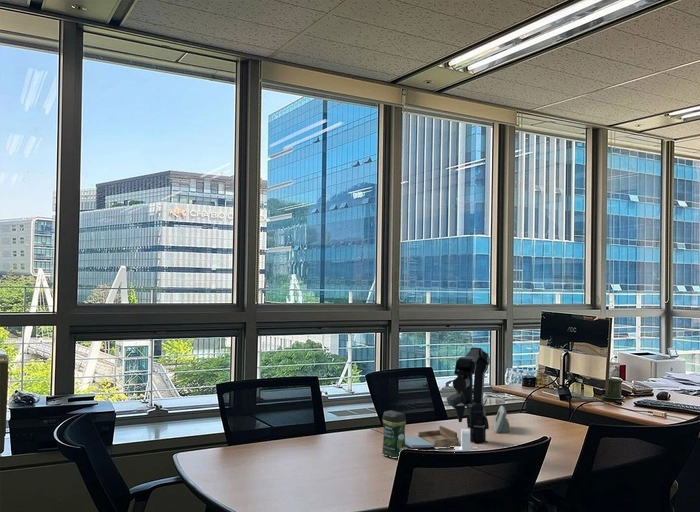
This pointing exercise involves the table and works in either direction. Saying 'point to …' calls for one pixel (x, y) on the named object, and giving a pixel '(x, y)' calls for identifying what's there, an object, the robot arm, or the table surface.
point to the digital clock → (501, 421)
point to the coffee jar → (393, 433)
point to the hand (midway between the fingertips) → (466, 424)
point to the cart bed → (440, 437)
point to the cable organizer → (465, 441)
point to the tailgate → (417, 442)
